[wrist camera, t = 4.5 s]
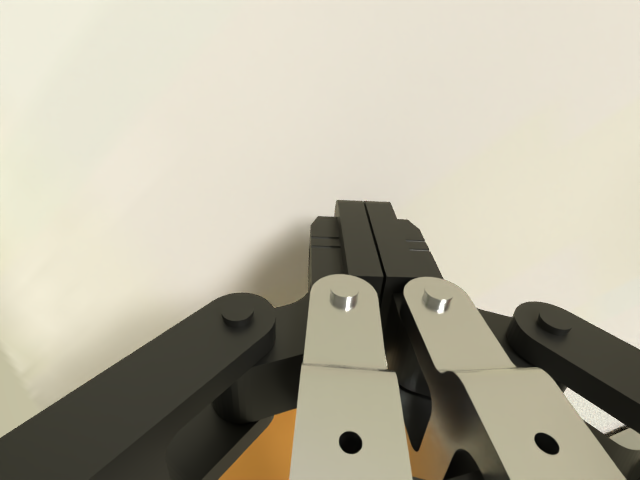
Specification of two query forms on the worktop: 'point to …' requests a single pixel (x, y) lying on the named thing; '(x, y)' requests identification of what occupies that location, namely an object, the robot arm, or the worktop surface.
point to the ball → (267, 452)
